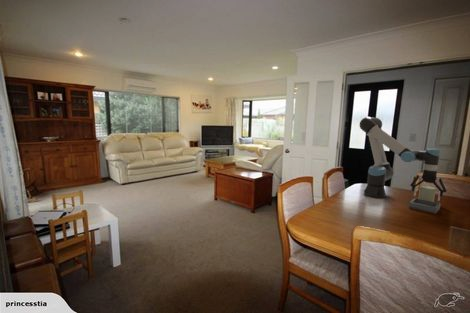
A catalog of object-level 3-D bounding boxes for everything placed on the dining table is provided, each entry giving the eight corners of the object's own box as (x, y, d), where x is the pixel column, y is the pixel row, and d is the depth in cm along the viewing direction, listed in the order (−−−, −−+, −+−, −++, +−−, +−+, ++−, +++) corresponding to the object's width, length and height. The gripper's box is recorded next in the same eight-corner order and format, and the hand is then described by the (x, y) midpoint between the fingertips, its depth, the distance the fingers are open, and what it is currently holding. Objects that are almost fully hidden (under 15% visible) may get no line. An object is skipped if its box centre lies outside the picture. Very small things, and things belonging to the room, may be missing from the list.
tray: (409, 207, 154) (409, 202, 153) (414, 203, 163) (414, 197, 162) (435, 213, 143) (436, 208, 142) (439, 208, 152) (440, 203, 151)
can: (427, 200, 169) (429, 185, 167) (437, 204, 159) (439, 188, 158) (414, 200, 169) (416, 184, 168) (423, 204, 160) (425, 188, 159)
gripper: (407, 167, 168) (404, 195, 171) (453, 173, 149) (448, 204, 152) (410, 166, 173) (406, 193, 176) (454, 172, 154) (450, 201, 157)
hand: (426, 198), depth 164 cm, fingers open, 13 cm apart
